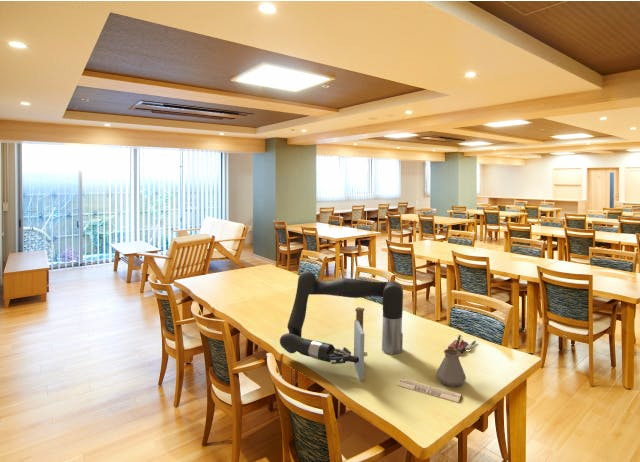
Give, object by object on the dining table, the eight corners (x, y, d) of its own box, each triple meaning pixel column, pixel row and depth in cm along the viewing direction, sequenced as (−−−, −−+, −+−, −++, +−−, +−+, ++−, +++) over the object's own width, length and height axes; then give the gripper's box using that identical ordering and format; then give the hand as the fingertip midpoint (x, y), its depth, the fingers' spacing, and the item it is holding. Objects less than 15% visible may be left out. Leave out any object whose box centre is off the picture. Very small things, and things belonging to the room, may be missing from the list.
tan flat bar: (461, 397, 150) (461, 392, 150) (457, 406, 144) (458, 401, 144) (402, 381, 162) (402, 377, 162) (396, 388, 156) (396, 384, 156)
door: (353, 362, 176) (354, 319, 173) (360, 362, 176) (361, 319, 173) (359, 380, 160) (360, 333, 157) (367, 380, 160) (368, 333, 157)
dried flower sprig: (464, 358, 183) (477, 344, 198) (464, 349, 182) (477, 335, 198) (445, 353, 188) (459, 339, 204) (446, 344, 187) (460, 331, 203)
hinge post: (357, 359, 180) (358, 307, 177) (363, 361, 178) (364, 308, 175) (354, 362, 177) (355, 309, 174) (360, 363, 176) (361, 310, 173)
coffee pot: (462, 392, 153) (464, 355, 151) (432, 384, 158) (434, 349, 157) (472, 369, 171) (474, 337, 169) (445, 363, 177) (447, 331, 175)
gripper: (313, 348, 164) (351, 357, 156) (328, 337, 175) (364, 345, 167) (313, 365, 165) (351, 375, 157) (328, 353, 176) (363, 362, 168)
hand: (357, 360), depth 162 cm, fingers closed
